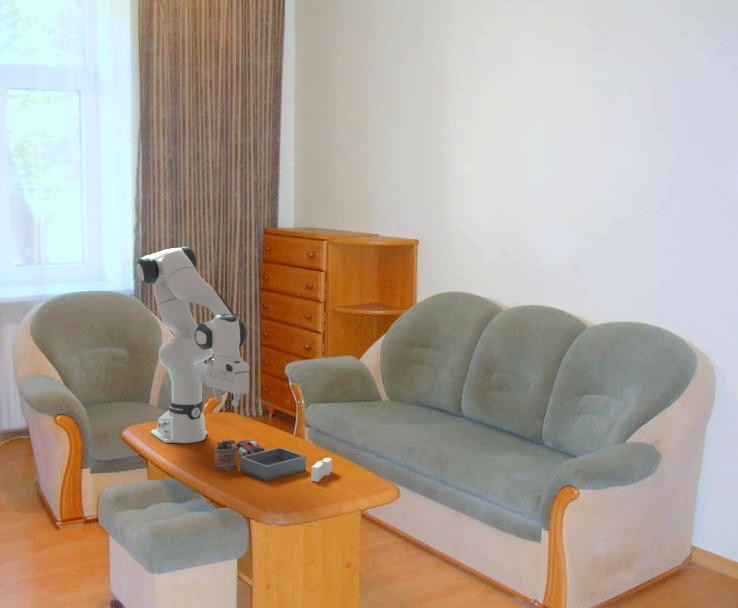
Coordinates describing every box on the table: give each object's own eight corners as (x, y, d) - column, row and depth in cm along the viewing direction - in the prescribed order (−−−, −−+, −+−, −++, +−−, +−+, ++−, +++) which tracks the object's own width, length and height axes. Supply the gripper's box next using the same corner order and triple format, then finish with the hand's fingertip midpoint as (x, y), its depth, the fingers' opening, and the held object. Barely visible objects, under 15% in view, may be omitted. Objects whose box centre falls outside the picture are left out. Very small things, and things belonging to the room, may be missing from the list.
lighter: (215, 471, 300) (215, 442, 299) (212, 468, 303) (212, 440, 302) (238, 469, 304) (238, 440, 302) (234, 466, 307) (235, 437, 305)
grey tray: (239, 471, 302) (240, 456, 301) (279, 460, 314) (279, 447, 314) (266, 481, 292) (266, 466, 292) (305, 470, 305) (306, 456, 304)
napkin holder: (313, 486, 291) (314, 469, 290) (295, 476, 300) (295, 460, 299) (351, 479, 300) (352, 462, 299) (332, 469, 309) (332, 453, 308)
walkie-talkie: (230, 448, 327) (249, 465, 310) (230, 437, 327) (249, 452, 309) (253, 446, 332) (273, 462, 314) (253, 434, 331) (273, 449, 313)
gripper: (200, 359, 304) (201, 399, 306) (237, 368, 290) (237, 410, 291) (216, 357, 308) (216, 396, 310) (252, 366, 294) (252, 407, 296)
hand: (226, 403), depth 301 cm, fingers open, 8 cm apart
